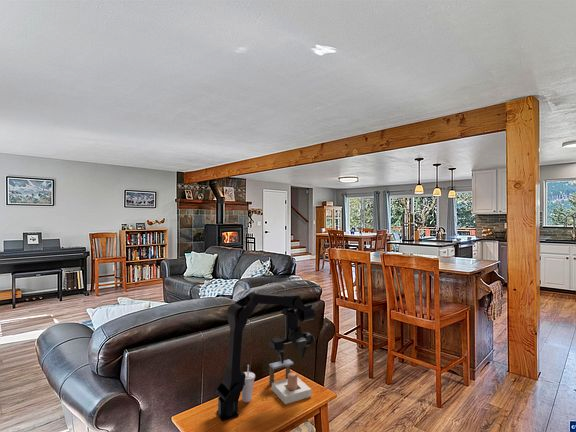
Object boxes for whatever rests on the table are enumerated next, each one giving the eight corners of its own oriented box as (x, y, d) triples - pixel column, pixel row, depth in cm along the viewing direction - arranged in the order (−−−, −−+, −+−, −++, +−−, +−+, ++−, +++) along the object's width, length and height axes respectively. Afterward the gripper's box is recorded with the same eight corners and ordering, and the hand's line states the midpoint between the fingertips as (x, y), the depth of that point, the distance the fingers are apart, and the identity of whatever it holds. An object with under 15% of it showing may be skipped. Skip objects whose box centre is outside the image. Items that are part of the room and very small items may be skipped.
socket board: (285, 404, 130) (285, 396, 130) (271, 389, 140) (271, 382, 140) (311, 396, 135) (311, 389, 135) (296, 383, 146) (296, 376, 146)
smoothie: (247, 405, 128) (247, 369, 128) (235, 400, 132) (235, 365, 132) (258, 398, 133) (258, 363, 133) (246, 393, 137) (247, 359, 137)
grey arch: (272, 388, 142) (273, 367, 142) (268, 383, 145) (269, 363, 145) (293, 382, 146) (293, 362, 146) (289, 378, 150) (289, 359, 150)
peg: (290, 397, 134) (290, 378, 134) (285, 393, 138) (286, 373, 138) (298, 395, 136) (299, 375, 136) (294, 390, 140) (294, 371, 140)
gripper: (280, 333, 128) (280, 374, 128) (321, 326, 136) (321, 364, 136) (268, 325, 138) (268, 362, 138) (307, 318, 146) (307, 353, 146)
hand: (292, 360), depth 139 cm, fingers open, 9 cm apart
